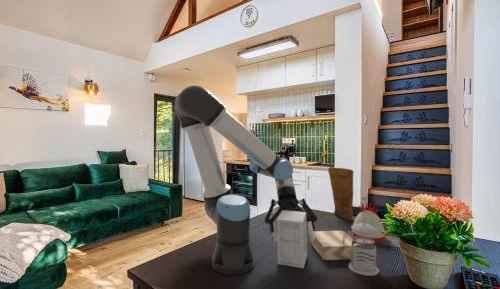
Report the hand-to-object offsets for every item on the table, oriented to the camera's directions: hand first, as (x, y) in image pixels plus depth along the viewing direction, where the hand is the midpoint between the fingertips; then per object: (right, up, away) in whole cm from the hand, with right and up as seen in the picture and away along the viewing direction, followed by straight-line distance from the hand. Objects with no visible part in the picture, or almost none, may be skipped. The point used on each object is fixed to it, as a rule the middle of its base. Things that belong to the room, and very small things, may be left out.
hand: (294, 240), depth 91 cm
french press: (+22, -8, -4) cm, 24 cm away
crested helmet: (+38, -8, +25) cm, 46 cm away
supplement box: (0, -8, +1) cm, 8 cm away
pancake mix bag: (+36, -7, +53) cm, 64 cm away
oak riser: (+17, -8, +9) cm, 21 cm away
